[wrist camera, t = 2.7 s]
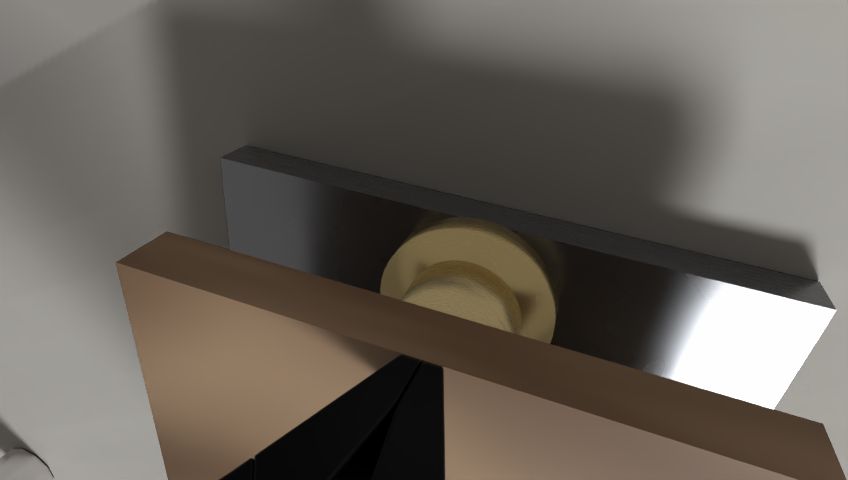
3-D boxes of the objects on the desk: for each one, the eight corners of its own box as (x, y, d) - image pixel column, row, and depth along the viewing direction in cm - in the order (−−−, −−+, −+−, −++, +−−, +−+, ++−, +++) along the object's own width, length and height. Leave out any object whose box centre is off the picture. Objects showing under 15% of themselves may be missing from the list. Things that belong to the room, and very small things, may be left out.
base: (621, 614, 21) (620, 758, 17) (270, 473, 24) (206, 566, 21) (825, 271, 12) (911, 406, 9) (244, 136, 16) (129, 190, 12)
